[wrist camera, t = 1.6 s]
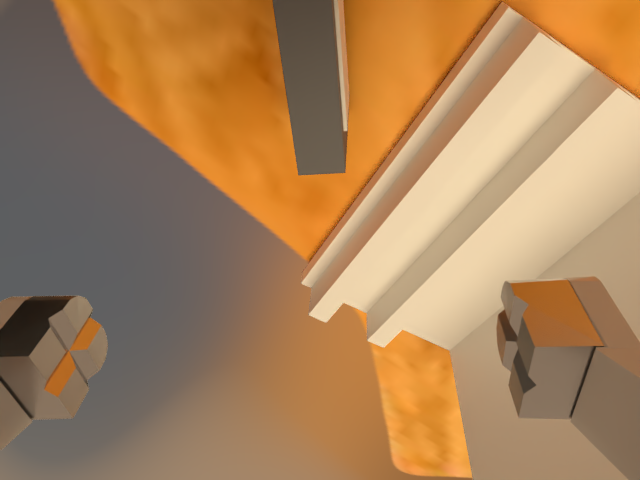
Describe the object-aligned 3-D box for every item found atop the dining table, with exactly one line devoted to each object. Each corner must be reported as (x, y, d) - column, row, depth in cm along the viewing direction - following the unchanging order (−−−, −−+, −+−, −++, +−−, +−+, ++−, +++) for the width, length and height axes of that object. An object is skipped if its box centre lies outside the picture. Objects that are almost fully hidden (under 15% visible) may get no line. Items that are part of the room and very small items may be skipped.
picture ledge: (502, 1, 26) (655, 141, 13) (704, 144, 31) (984, 367, 17) (302, 271, 40) (271, 480, 26) (462, 344, 44) (507, 558, 30)
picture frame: (274, -158, 23) (242, -170, 17) (333, -166, 23) (322, -182, 16) (308, 115, 31) (294, 175, 25) (351, 112, 31) (348, 172, 25)
